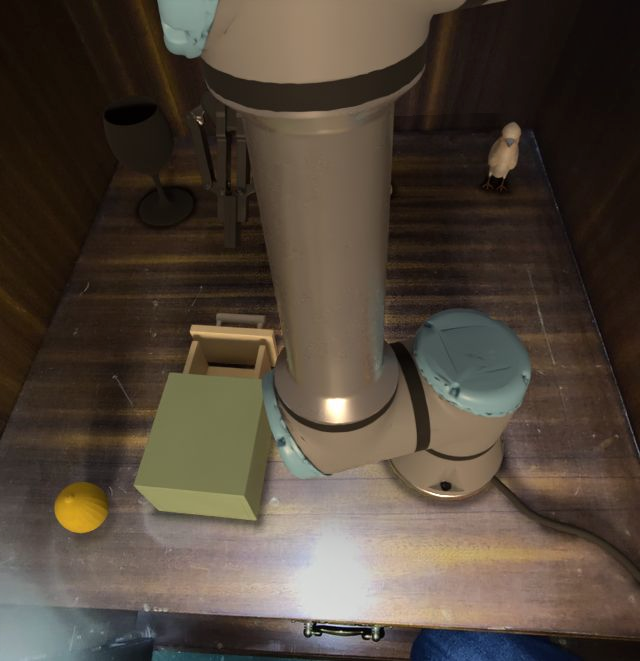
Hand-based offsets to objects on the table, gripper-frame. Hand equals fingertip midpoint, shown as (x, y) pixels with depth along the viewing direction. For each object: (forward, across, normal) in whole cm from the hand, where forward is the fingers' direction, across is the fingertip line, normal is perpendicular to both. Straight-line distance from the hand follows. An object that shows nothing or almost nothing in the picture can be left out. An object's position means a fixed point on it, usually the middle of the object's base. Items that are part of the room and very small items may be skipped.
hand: (232, 247), depth 68 cm
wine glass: (-6, +21, -30) cm, 37 cm away
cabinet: (+28, 0, +5) cm, 28 cm away
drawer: (+20, 0, -2) cm, 20 cm away
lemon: (+34, +14, +11) cm, 38 cm away
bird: (-12, -40, -36) cm, 55 cm away
